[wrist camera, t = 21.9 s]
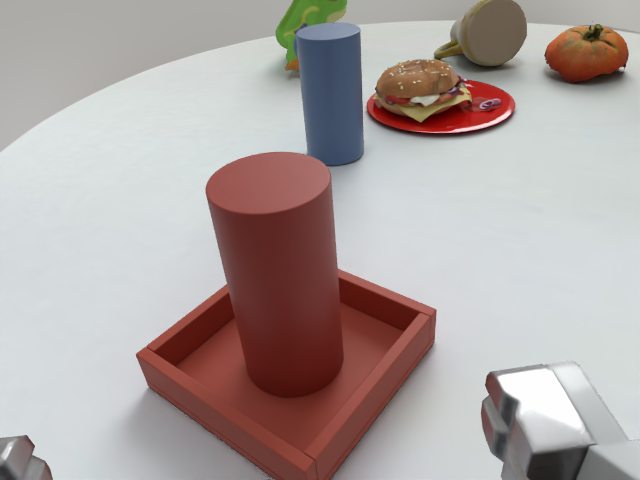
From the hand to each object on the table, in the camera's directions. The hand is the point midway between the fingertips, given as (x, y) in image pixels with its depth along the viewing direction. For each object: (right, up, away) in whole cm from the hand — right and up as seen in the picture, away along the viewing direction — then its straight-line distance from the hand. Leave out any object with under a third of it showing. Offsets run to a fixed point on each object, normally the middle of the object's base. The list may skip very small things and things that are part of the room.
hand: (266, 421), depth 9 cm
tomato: (+29, +21, +47) cm, 59 cm away
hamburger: (+13, +16, +42) cm, 47 cm away
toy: (0, +26, +57) cm, 63 cm away
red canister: (0, -3, +16) cm, 17 cm away
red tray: (0, -3, +17) cm, 17 cm away
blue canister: (+2, +11, +35) cm, 37 cm away
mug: (+19, +25, +53) cm, 61 cm away
